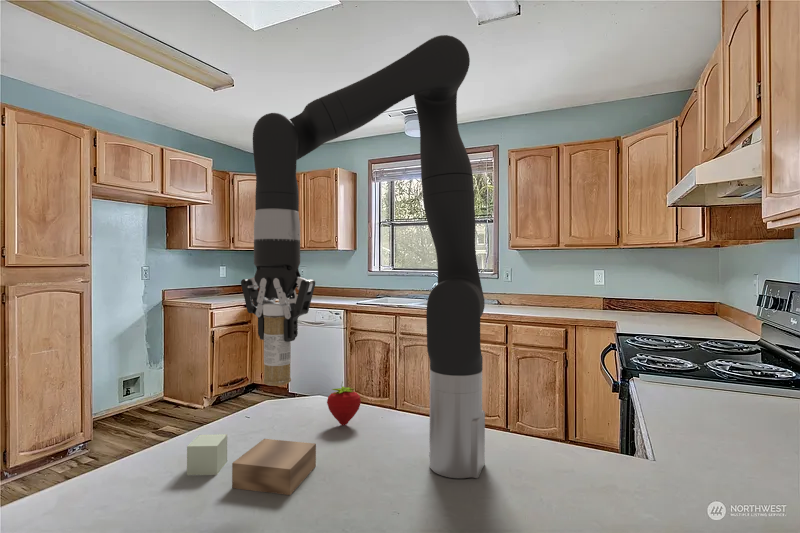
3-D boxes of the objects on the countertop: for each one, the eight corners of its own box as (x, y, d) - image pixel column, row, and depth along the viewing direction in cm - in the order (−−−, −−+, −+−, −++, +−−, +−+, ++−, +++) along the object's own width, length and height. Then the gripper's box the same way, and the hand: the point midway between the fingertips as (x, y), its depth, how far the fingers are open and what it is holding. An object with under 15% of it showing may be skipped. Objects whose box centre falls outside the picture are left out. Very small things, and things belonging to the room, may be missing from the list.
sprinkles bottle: (284, 378, 77) (284, 301, 77) (295, 383, 73) (296, 303, 73) (258, 382, 74) (258, 302, 74) (269, 388, 70) (269, 304, 70)
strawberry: (360, 430, 94) (360, 384, 94) (325, 430, 94) (325, 384, 94) (361, 420, 100) (361, 377, 100) (328, 420, 100) (328, 377, 100)
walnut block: (315, 466, 77) (315, 443, 77) (290, 495, 68) (290, 469, 68) (264, 460, 79) (264, 438, 79) (232, 488, 70) (232, 463, 70)
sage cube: (227, 462, 79) (227, 434, 79) (217, 475, 74) (217, 445, 74) (198, 462, 79) (199, 434, 79) (186, 475, 74) (186, 446, 74)
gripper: (325, 238, 74) (325, 339, 74) (258, 240, 80) (258, 334, 80) (300, 235, 67) (300, 346, 67) (227, 238, 73) (227, 340, 73)
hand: (277, 339), depth 74 cm, fingers closed on sprinkles bottle, 4 cm apart
